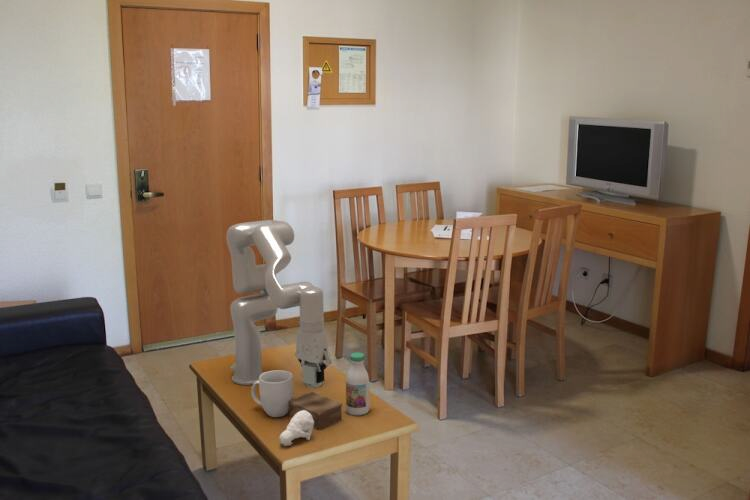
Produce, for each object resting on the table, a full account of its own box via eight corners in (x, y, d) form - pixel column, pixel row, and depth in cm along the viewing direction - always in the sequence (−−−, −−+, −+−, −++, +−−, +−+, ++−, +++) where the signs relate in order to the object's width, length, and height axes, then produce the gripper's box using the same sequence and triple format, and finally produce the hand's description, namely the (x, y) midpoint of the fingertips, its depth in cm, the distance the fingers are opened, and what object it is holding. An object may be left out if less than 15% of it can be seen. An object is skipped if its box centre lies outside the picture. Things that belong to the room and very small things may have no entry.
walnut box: (289, 418, 238) (288, 401, 237) (312, 408, 245) (312, 391, 244) (319, 431, 228) (318, 413, 227) (342, 420, 236) (342, 403, 235)
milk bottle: (353, 404, 247) (352, 349, 243) (373, 408, 244) (372, 352, 240) (342, 413, 241) (341, 356, 236) (362, 417, 237) (362, 360, 233)
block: (302, 382, 233) (302, 364, 232) (312, 377, 237) (312, 359, 236) (314, 385, 230) (314, 367, 229) (324, 380, 234) (324, 363, 233)
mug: (244, 415, 240) (242, 378, 237) (261, 402, 250) (259, 366, 247) (284, 422, 234) (282, 384, 232) (299, 409, 244) (298, 372, 241)
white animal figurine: (315, 411, 222) (286, 428, 214) (317, 435, 225) (289, 453, 216) (300, 405, 226) (272, 421, 218) (303, 429, 229) (275, 446, 220)
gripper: (284, 324, 232) (286, 378, 236) (325, 333, 222) (326, 389, 226) (299, 318, 238) (301, 371, 242) (340, 327, 228) (341, 382, 232)
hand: (313, 379), depth 234 cm, fingers closed on block, 5 cm apart
